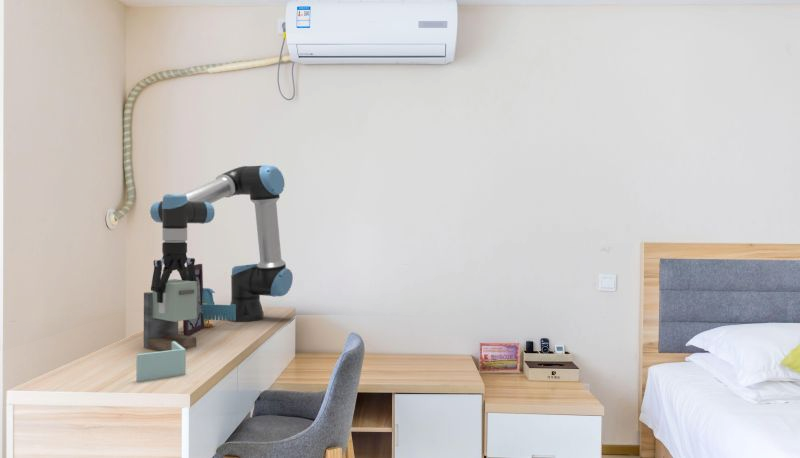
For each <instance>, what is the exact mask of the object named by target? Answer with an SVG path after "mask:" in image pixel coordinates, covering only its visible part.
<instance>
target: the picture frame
mask: <svg viewBox="0 0 800 458" xmlns="http://www.w3.org/2000/svg"><path fill="white" fill-rule="evenodd" d="M185 267H186V272H187V274H188V271H187V266H185ZM194 267H195V274H196V280H197V318H195V319H189V320H183V321H182V325H183V326H182V327H183V328H182V329H183V335H186V336H192V335H194V334H195V333H197V332H199V331H201V330H204V329H205V327H204V320H203V316H202V313H201V310H200V309H201V307H200V306H201V305H202V297H203V288H204V278H203V275H204V274H203V272H204V271H203V263H198V264H194Z"/></svg>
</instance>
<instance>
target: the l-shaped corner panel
mask: <svg viewBox="0 0 800 458" xmlns="http://www.w3.org/2000/svg"><path fill="white" fill-rule="evenodd" d="M186 353H187V352H186V349H185V348H183V347H182V346H181V345H179V344H178V343H177V342H175V341H172V350H169V351H154V352H145V353H144V352H143V353H138V354H137V353H136V375H135V377H136V382H138V383H139V382H145V381H153V380H156V379H164V378H171V377H177V376H183V375H186V373H187V371H186V369H187V368H186V367H187V365H186V363H187V362H186V361H187V358H186V356H187V355H186Z"/></svg>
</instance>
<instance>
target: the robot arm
mask: <svg viewBox="0 0 800 458" xmlns="http://www.w3.org/2000/svg"><path fill="white" fill-rule="evenodd" d="M284 188H285V178H284V175H283V173H282V172H281V170H280V169H279V168H278V167H277V166H274V165H268V164H267V165H266V164H264V165H243V166H239V167H237V168H233V169H230V170H228V171H226V172H224V173H222V174H219V175H217V176H216V177H215V179H214V180H212V181H209V182H207V183H205V184H203V185H201V186H199V187H196V188H194V189H192V190H189V191H187V192H184V194H177V193H175V194H174V193H171V194H170V193H169V194H168V193H167V194H165V195H163V196H162V200H161V201H156V202H154V203H153V204H152V205H151V207H150V210H149V212H150V213H149V214H150V217H151V219H152V220H153V221H154V222H156V223H161V224H162V227H161V228H162V241H164V242H162V244H161V246H162V247H161V250H162V258H161V259H154V260H153V263H152V264H153V274H152V278H151V279H152V280H151V286H150V292H153V291H155V292H156V293H157V303H159V313H166V293H163V292H164V290H165V287H166V283H167V282H168V280H170V276H171V274H173V271H177V272H178V273H179V276H180V280H184V281H195V282H197V280H196V274H195V267H194V265H195V263H196V259H195V257H188V256H187V253H188V243H187V242H186V241H188V224H202V225H203V224H208V223H209V224H210V223H211V222H212V221H213V219H214V217H215V213H216V212H215V207H214V206H213V205H212V204H213V203H216V202H217V201H219V200H221V199H224V198H231V197H233V196H240V195H243V196H244V195H247V196H248V195H249V199H250V201H251V202H252V203H253V204H254V210H255V220H256V221H255V222H256V229H257V232H256V233H257V242H258V250H259V262H258V263H253V264H252V263H251V264H244V265H243V264H242V265H235V266H233V267H232V269H231V274H230V276H231V277H230V278H231V279H230V280H231V282H230V283H231V284H230V285H231V286H230V289H231V300H230V304H229V305H232V304H235V305H236V320H235V321H233V317H232V321H231V322H254V321H259V320H263V319H264V317H265V314H264V311H263V306H262V304H261V300H260V298H261V297H260V296H267V297H275V298H276V297H283V296H285V295H287V294H288V292H290V289H291V288H292V285H293V281H294V280H293V278H294V277H293V273H292V270H291V269H289V268H287V265H286V262H285V261H284V260H283V259H282V251H281V241H280V230H279V229H280V228H279V217H278V209H277V208H278V207H277V205H278V204H277V202H278V201H279V199H280V195H281V194H282V193H283V191H284ZM163 265H164V267H163ZM186 267H187V271H188V274H187V272H186Z"/></svg>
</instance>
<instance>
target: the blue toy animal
mask: <svg viewBox="0 0 800 458" xmlns="http://www.w3.org/2000/svg"><path fill="white" fill-rule="evenodd" d="M215 293H216V292H215V291H214V290H213V289H212V288H209V287H203V297H202V305H201V306H200V307H201V309H200V310H201V313H202V316H203V320H204V328H207V327H209V326H210V327H214V324H213V323H210V321H212V320H213V321H215V320H216V321H227V322H229V321H230V322H236V321H235V320H236V305H235V304H232V305H230V304H215V302H214V295H213V294H215ZM232 317H233V321H232Z"/></svg>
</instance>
